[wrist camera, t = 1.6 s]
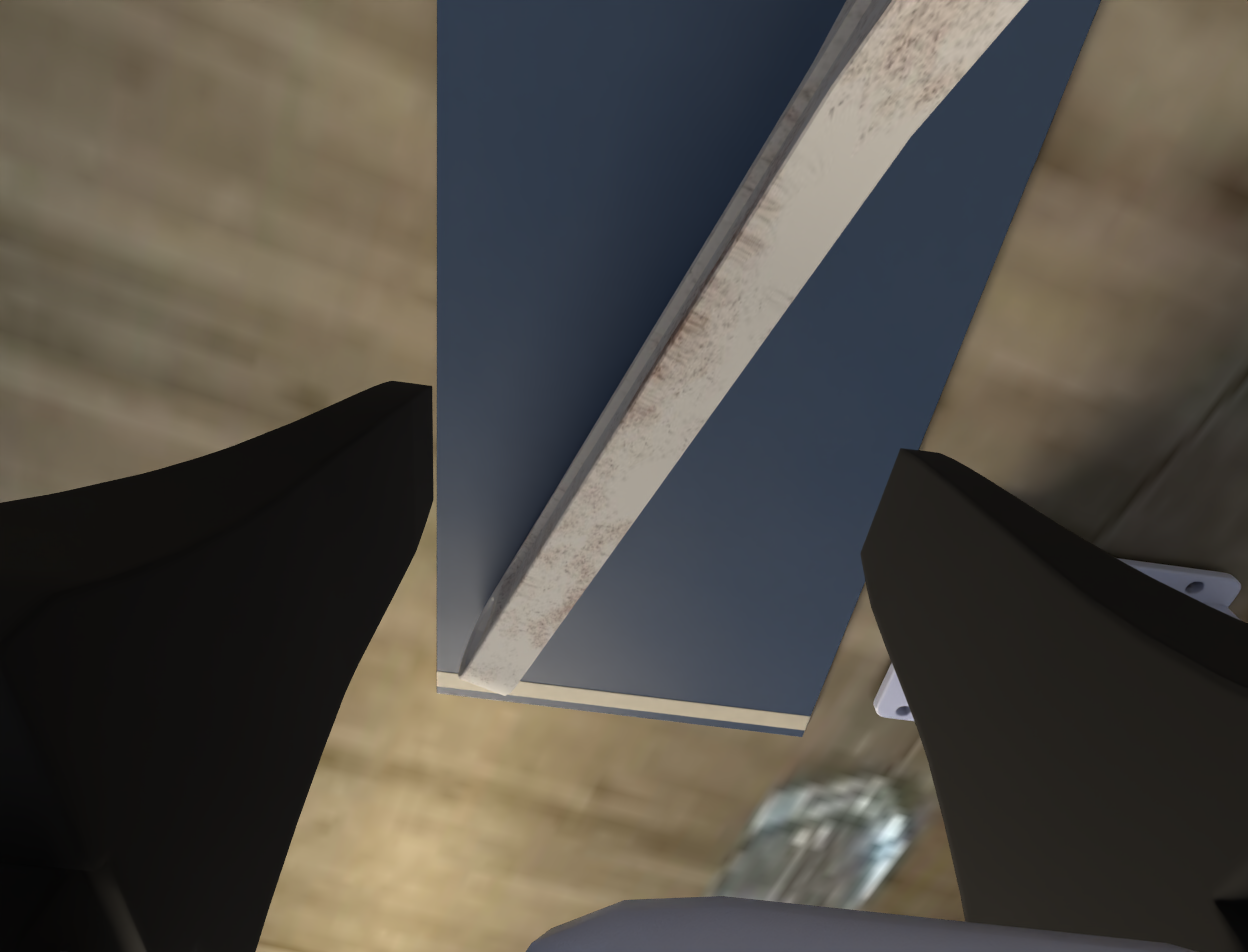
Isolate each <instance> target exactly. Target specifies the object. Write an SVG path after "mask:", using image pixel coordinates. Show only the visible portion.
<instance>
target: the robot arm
mask: <svg viewBox="0 0 1248 952" xmlns="http://www.w3.org/2000/svg"><path fill="white" fill-rule="evenodd" d="M432 502H433V424H432V386H427V385H420V384H412V383H405V382H397V381H389V382H385V383H382V384H379V385H377V386H374V387H372V388H369V389H367V390H365V391H362V392H360V393H358V394H355V395H353V396H351V397H349V398H347V399H344V400H342V401H340V402H338V403H336V404H333V405H331V406H329V407H327V408H324V409H322V410H320V411H318V412H315V413H313V414H311V415H309V416H306V417H304V418H302V419H300V420H297V421H295V422H293V423H290V424H288V425H285V426H283V427H280V428H278V429H275V430H273V431H270V432H267V433H265V434H262V435H260V436H257V437H255V438H252V439H250V440H247V441H245V442H242V443H240V444H237V445H235V446H232V447H229V448H226V449H223V450H220V451H217V452H214V453H211V454H208V455H205V456H202V457H199V458H196V459H193V460H189V461H186V462H182V463H179V464H176V465H172V466H169V467H165V468H162V469H159V470H155V471H151V472H147V473H144V474H140V475H135V476H131V477H126V478H122V479H117V480H113V481H108V482H104V483H100V484H95V485H91V486H86V487H82V488H77V489H73V490H68V491H64V492H59V493H54V494H49V495H43V496H38V497H32V498H26V499H20V500H14V501H9V502H3V503H0V952H255V951H256V948H257V945H258V942H259V938H260V935H261V932H262V929H263V926H264V922H265V919H266V916H267V913H268V909H269V906H270V903H271V900H272V897H273V894H274V891H275V888H276V885H277V882H278V879H279V876H280V873H281V870H282V867H283V864H284V861H285V858H286V855H287V852H288V849H289V846H290V843H291V840H292V837H293V834H294V831H295V828H296V825H297V822H298V820H299V817H300V814H301V811H302V808H303V806H304V803H305V800H306V797H307V794H308V792H309V789H310V786H311V783H312V780H313V778H314V775H315V772H316V769H317V766H318V764H319V761H320V758H321V755H322V752H323V750H324V747H325V745H326V742H327V739H328V737H329V734H330V731H331V729H332V726H333V724H334V721H335V718H336V716H337V713H338V710H339V708H340V705H341V702H342V700H343V697H344V695H345V692H346V690H347V688H348V686H349V683H350V681H351V679H352V677H353V675H354V672H355V670H356V668H357V666H358V664H359V662H360V660H361V658H362V656H363V654H364V652H365V650H366V648H367V646H368V644H369V643H370V641H371V639H372V637H373V635H374V633H375V631H376V629H377V627H378V625H379V623H380V621H381V619H382V617H383V615H384V614H385V612H386V610H387V608H388V606H389V604H390V602H391V600H392V598H393V596H394V594H395V592H396V590H397V588H398V586H399V584H400V582H401V580H402V578H403V576H404V575H405V573H406V571H407V569H408V567H409V565H410V563H411V561H412V559H413V556H414V554H415V552H416V550H417V547H418V544H419V542H420V539H421V536H422V533H423V530H424V527H425V524H426V521H427V518H428V515H429V512H430V509H431V506H432ZM860 555H861V560H862V565H863V571H864V576H865V582H866V586H867V591H868V595H869V599H870V604H871V608H872V611H873V613H874V616H875V619H876V622H877V624H878V627H879V630H880V633H881V635H882V638H883V641H884V643H885V646H886V649H887V651H888V654H889V656H890V659H891V662H892V663H891V665H890V667H889V669H888V671H887V673H886V676H885V678H884V680H883V682H882V684H881V686H880V688H879V691H878V693H877V695H876V697H875V699H874V703H873V704H874V707H875V710H876V712H877V714H878V715H880V716H882V717H885V718H893V719H901V720H910V721H915V724H916V726H917V729H918V732H919V735H920V738H921V741H922V744H923V747H924V750H925V753H926V756H927V759H928V762H929V766H930V770H931V774H932V778H933V782H934V786H935V789H936V793H937V797H938V801H939V805H940V809H941V813H942V816H943V820H944V824H945V829H946V833H947V838H948V842H949V846H950V851H951V855H952V860H953V864H954V868H955V873H956V877H957V882H958V886H959V891H960V895H961V901H962V906H963V911H964V916H965V921H966V922H962V921H952V920H943V919H933V918H924V917H914V916H905V915H896V914H886V913H877V912H867V911H858V910H848V909H839V908H829V907H820V906H810V905H801V904H791V903H782V902H772V901H763V900H753V899H744V898H734V897H725V896H716V897H691V898H665V899H640V900H624V901H621V902H618V903H616V904H613V905H611V906H608V907H606V908H603V909H600V910H598V911H595V912H593V913H590V914H587V915H585V916H582V917H580V918H577V919H575V920H572V921H569V922H567V923H564V924H562V925H559V926H556V927H554V928H551V929H550V930H548V931H547V932H546V933H545V934H543V935H542V936H541V937H539V938H538V939H537V940H535V941H534V942H533V943H531V945H530V946H529V948H528V949H527V951H526V952H1248V623H1245V622H1243V621H1241V620H1240V619H1239V618H1238V617H1237V616H1236V615H1235V614H1234V613H1233V612H1232V611H1231V610H1230V609H1229V608H1228V606H1229V605H1230V604H1231V603H1232V601H1233V600H1234V599H1235V597H1236V596H1237V595H1238V593H1239V591H1240V589H1241V584H1240V582H1239V581H1238V580H1237V579H1236V578H1235V577H1233V576H1232V575H1231V574H1228V573H1224V572H1217V571H1209V570H1202V569H1194V568H1187V567H1179V566H1172V565H1165V564H1157V563H1150V562H1142V561H1135V560H1127V559H1120V558H1115V557H1114V556H1112V555H1110V554H1108V553H1107V552H1105V551H1103V550H1101V549H1100V548H1098V547H1096V546H1094V545H1093V544H1091V543H1089V542H1088V541H1086V540H1084V539H1082V538H1081V537H1079V536H1077V535H1076V534H1074V533H1073V532H1071V531H1069V530H1068V529H1066V528H1064V527H1063V526H1061V525H1059V524H1058V523H1056V522H1055V521H1053V520H1051V519H1050V518H1048V517H1047V516H1045V515H1043V514H1042V513H1040V512H1039V511H1037V510H1036V509H1034V508H1032V507H1031V506H1029V505H1028V504H1026V503H1024V502H1023V501H1021V500H1020V499H1018V498H1017V497H1015V496H1014V495H1012V494H1010V493H1009V492H1007V491H1006V490H1004V489H1002V488H1001V487H999V486H998V485H996V484H995V483H993V482H991V481H990V480H988V479H987V478H985V477H983V476H982V475H980V474H978V473H977V472H975V471H973V470H972V469H970V468H968V467H967V466H965V465H963V464H961V463H959V462H957V461H955V460H954V459H952V458H949V457H947V456H945V455H943V454H940V453H935V452H927V451H920V450H912V449H905V448H900V451H899V453H898V456H897V458H896V461H895V464H894V466H893V469H892V472H891V474H890V477H889V479H888V482H887V485H886V487H885V490H884V493H883V495H882V498H881V500H880V503H879V506H878V508H877V511H876V513H875V516H874V519H873V521H872V524H871V527H870V529H869V532H868V534H867V537H866V540H865V542H864V545H863V548H862V550H861V553H860ZM1190 583H1192V584H1190ZM1189 584H1190V585H1189ZM901 706H903V707H901Z"/></svg>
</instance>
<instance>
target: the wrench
mask: <svg viewBox="0 0 1248 952" xmlns="http://www.w3.org/2000/svg"><path fill="white" fill-rule="evenodd" d="M1028 1H1029V0H846V2H845V4H844V6H843V8H842V10H841V11H840V13H839V15H838V17H837V19H836V21H835V23H834V24H833V26H832V28H831V30H830V32H829V34H828V36H827V37H826V39H825V41H824V43H823V45H822V47H821V49H820V50H819V52H818V54H817V56H816V58H815V60H814V62H813V63H812V65H811V67H810V68H809V70H808V72H807V73H806V75H805V77H804V78H803V80H802V82H801V83H800V85H799V87H798V88H797V90H796V92H795V94H794V95H793V97H792V99H791V100H790V102H789V104H788V105H787V107H786V109H785V110H784V112H783V114H782V115H781V117H780V119H779V120H778V122H777V124H776V125H775V127H774V129H773V130H772V132H771V134H770V135H769V137H768V139H767V140H766V142H765V144H764V145H763V147H762V149H761V150H760V152H759V154H758V155H757V157H756V159H755V160H754V162H753V164H752V165H751V167H750V169H749V170H748V172H747V174H746V175H745V177H744V179H743V180H742V182H741V184H740V185H739V187H738V189H737V190H736V192H735V194H734V195H733V197H732V199H731V200H730V202H729V204H728V205H727V207H726V209H725V210H724V212H723V214H722V215H721V217H720V219H719V220H718V222H717V224H716V225H715V227H714V229H713V230H712V232H711V233H710V235H709V237H708V238H707V240H706V242H705V243H704V245H703V247H702V248H701V250H700V252H699V253H698V255H697V257H696V258H695V260H694V262H693V263H692V265H691V266H690V268H689V270H688V271H687V273H686V275H685V276H684V278H683V280H682V281H681V283H680V285H679V286H678V288H677V290H676V291H675V293H674V295H673V296H672V298H671V300H670V301H669V303H668V304H667V306H666V308H665V309H664V311H663V313H662V314H661V316H660V318H659V319H658V321H657V323H656V324H655V326H654V328H653V329H652V331H651V333H650V334H649V336H648V337H647V339H646V341H645V342H644V344H643V346H642V347H641V349H640V351H639V352H638V354H637V356H636V357H635V359H634V361H633V362H632V364H631V366H630V367H629V369H628V370H627V372H626V374H625V375H624V377H623V379H622V380H621V382H620V384H619V385H618V387H617V389H616V390H615V392H614V394H613V395H612V397H611V399H610V400H609V402H608V404H607V405H606V407H605V409H604V410H603V412H602V413H601V415H600V417H599V418H598V420H597V422H596V423H595V425H594V427H593V428H592V430H591V432H590V433H589V435H588V437H587V438H586V440H585V442H584V443H583V445H582V447H581V448H580V450H579V452H578V453H577V455H576V457H575V458H574V460H573V462H572V463H571V465H570V467H569V468H568V470H567V472H566V473H565V475H564V476H563V478H562V480H561V481H560V483H559V485H558V486H557V488H556V490H555V491H554V493H553V495H552V496H551V498H550V500H549V501H548V503H547V505H546V506H545V508H544V510H543V511H542V513H541V514H540V516H539V518H538V519H537V521H536V523H535V524H534V526H533V528H532V529H531V531H530V533H529V534H528V536H527V537H526V539H525V541H524V542H523V544H522V546H521V547H520V549H519V551H518V552H517V554H516V556H515V557H514V559H513V560H512V562H511V564H510V565H509V567H508V569H507V570H506V572H505V574H504V575H503V577H502V579H501V580H500V582H499V584H498V585H497V587H496V588H495V590H494V592H493V593H492V595H491V597H490V598H489V600H488V602H487V603H486V605H485V607H484V609H483V611H482V613H481V615H480V617H479V619H478V621H477V623H476V625H475V627H474V629H473V632H472V634H471V636H470V639H469V641H468V644H467V647H466V649H465V652H464V655H463V658H462V661H461V664H460V668H459V674H458V677H459V679H461V680H464V681H466V682H469V683H471V684H474V685H477V686H479V687H482V688H485V689H487V690H490V691H493V692H495V693H498V694H501V695H503V696H506V695H508V694H510V693H511V692H512V691H513V690H514V688H515V687H516V686H517V684H518V683H519V681H520V680H521V679H522V677H523V676H524V674H525V673H526V672H527V670H528V669H529V668H530V666H531V665H532V663H533V662H534V661H535V659H536V658H537V656H538V655H539V654H540V652H541V651H542V649H543V648H544V647H545V645H546V644H547V642H548V641H549V640H550V638H551V637H552V635H553V634H554V633H555V631H556V630H557V629H558V627H559V626H560V624H561V623H562V622H563V620H564V619H565V617H566V616H567V615H568V613H569V612H570V610H571V609H572V608H573V606H574V605H575V603H576V602H577V601H578V599H579V598H580V597H581V595H582V594H583V592H584V591H585V590H586V588H587V587H588V585H589V584H590V583H591V581H592V580H593V578H594V577H595V576H596V574H597V573H598V571H599V570H600V569H601V567H602V566H603V565H604V563H605V562H606V560H607V559H608V558H609V556H610V555H611V553H612V552H613V551H614V549H615V548H616V546H617V545H618V544H619V542H620V541H621V539H622V538H623V537H624V535H625V534H626V533H627V531H628V530H629V528H630V527H631V526H632V524H633V523H634V521H635V520H636V519H637V517H638V516H639V514H640V513H641V512H642V510H643V509H644V507H645V506H646V505H647V503H648V502H649V501H650V499H651V498H652V496H653V495H654V494H655V492H656V491H657V489H658V488H659V487H660V485H661V484H662V482H663V481H664V480H665V478H666V477H667V475H668V474H669V473H670V471H671V470H672V469H673V467H674V466H675V464H676V463H677V462H678V460H679V459H680V457H681V456H682V455H683V453H684V452H685V450H686V449H687V448H688V446H689V445H690V443H691V442H692V441H693V439H694V438H695V437H696V435H697V434H698V432H699V431H700V430H701V428H702V427H703V425H704V424H705V423H706V421H707V420H708V418H709V417H710V416H711V414H712V413H713V411H714V410H715V409H716V407H717V406H718V405H719V403H720V402H721V400H722V399H723V398H724V396H725V395H726V393H727V392H728V391H729V389H730V388H731V386H732V385H733V384H734V382H735V381H736V379H737V378H738V377H739V375H740V374H741V373H742V371H743V370H744V368H745V367H746V366H747V364H748V363H749V361H750V360H751V359H752V357H753V356H754V354H755V353H756V352H757V350H758V349H759V347H760V346H761V345H762V343H763V342H764V341H765V339H766V338H767V336H768V335H769V334H770V332H771V331H772V329H773V328H774V327H775V325H776V324H777V322H778V321H779V320H780V318H781V317H782V315H783V314H784V313H785V311H786V310H787V309H788V307H789V306H790V304H791V303H792V302H793V300H794V299H795V297H796V296H797V295H798V293H799V292H800V290H801V289H802V288H803V286H804V285H805V283H806V282H807V281H808V279H809V278H810V276H811V275H812V274H813V272H814V271H815V270H816V268H817V267H818V265H819V264H820V263H821V261H822V260H823V258H824V257H825V256H826V254H827V253H828V251H829V250H830V249H831V247H832V246H833V244H834V243H835V242H836V240H837V239H838V238H839V236H840V235H841V233H842V232H843V231H844V229H845V228H846V226H847V225H848V224H849V222H850V221H851V219H852V218H853V217H854V215H855V214H856V212H857V211H858V210H859V208H860V207H861V206H862V204H863V203H864V201H865V200H866V199H867V197H868V196H869V194H870V193H871V192H872V190H873V189H874V187H875V186H876V185H877V183H878V182H879V180H880V179H881V178H882V176H883V175H884V174H885V172H886V171H887V169H888V168H889V167H890V165H891V164H892V162H893V161H894V160H895V158H896V157H897V155H898V154H899V153H900V151H901V150H902V148H903V147H904V146H905V144H906V143H907V142H908V140H909V139H910V137H911V136H912V135H913V134H914V133H915V132H916V130H917V129H918V128H919V127H920V126H921V125H922V123H923V122H924V121H925V120H926V119H927V118H928V117H929V115H930V114H931V113H932V112H933V111H934V110H935V108H936V107H937V106H938V105H939V104H940V103H941V101H942V100H943V99H944V98H945V97H946V96H947V95H948V93H949V92H950V91H951V90H952V89H953V88H954V86H955V85H956V84H957V83H958V82H959V81H960V79H961V78H962V77H963V76H964V75H965V74H966V73H967V71H968V70H969V69H970V68H971V67H972V66H973V64H974V63H975V62H976V61H977V60H978V59H979V57H980V56H981V55H982V54H983V53H984V52H985V51H986V49H987V48H988V47H989V46H990V45H991V44H992V42H993V41H994V40H995V39H996V38H997V37H998V35H999V34H1000V33H1001V32H1002V31H1003V30H1004V29H1005V27H1006V26H1007V25H1008V24H1009V23H1010V22H1011V20H1012V19H1013V18H1014V17H1015V16H1016V15H1017V13H1018V12H1019V11H1020V10H1021V9H1022V8H1023V7H1024V5H1025V4H1026V3H1027V2H1028Z"/></svg>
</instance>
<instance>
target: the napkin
mask: <svg viewBox="0 0 1248 952" xmlns="http://www.w3.org/2000/svg"><path fill="white" fill-rule="evenodd" d="M1100 1H1101V0H1029V1H1028V2H1027V3H1026V4H1025V5H1024V7H1023V8H1022V9H1021V10H1020V11H1019V12H1018V13H1017V15H1016V16H1015V17H1014V18H1013V19H1012V20H1011V22H1010V23H1009V24H1008V25H1007V26H1006V27H1005V29H1004V30H1003V31H1002V32H1001V33H1000V34H999V35H998V37H997V38H996V39H995V40H994V41H993V42H992V44H991V45H990V46H989V47H988V48H987V49H986V51H985V52H984V53H983V54H982V55H981V56H980V57H979V59H978V60H977V61H976V62H975V63H974V64H973V66H972V67H971V68H970V69H969V70H968V71H967V73H966V74H965V75H964V76H963V77H962V78H961V79H960V81H959V82H958V83H957V84H956V85H955V86H954V88H953V89H952V90H951V91H950V92H949V93H948V95H947V96H946V97H945V98H944V99H943V100H942V101H941V103H940V104H939V105H938V106H937V107H936V108H935V110H934V111H933V112H932V113H931V114H930V115H929V117H928V118H927V119H926V120H925V121H924V122H923V123H922V125H921V126H920V127H919V128H918V129H917V130H916V132H915V133H914V134H913V135H912V136H911V137H910V139H909V140H908V142H907V143H906V144H905V146H904V147H903V148H902V150H901V151H900V153H899V154H898V155H897V157H896V158H895V160H894V161H893V162H892V164H891V165H890V167H889V168H888V169H887V171H886V172H885V174H884V175H883V176H882V178H881V179H880V180H879V182H878V183H877V185H876V186H875V187H874V189H873V190H872V192H871V193H870V194H869V196H868V197H867V199H866V200H865V201H864V203H863V204H862V206H861V207H860V208H859V210H858V211H857V212H856V214H855V215H854V217H853V218H852V219H851V221H850V222H849V224H848V225H847V226H846V228H845V229H844V231H843V232H842V233H841V235H840V236H839V238H838V239H837V240H836V242H835V243H834V244H833V246H832V247H831V249H830V250H829V251H828V253H827V254H826V256H825V257H824V258H823V260H822V261H821V263H820V264H819V265H818V267H817V268H816V270H815V271H814V272H813V274H812V275H811V276H810V278H809V279H808V281H807V282H806V283H805V285H804V286H803V288H802V289H801V290H800V292H799V293H798V295H797V296H796V297H795V299H794V300H793V302H792V303H791V304H790V306H789V307H788V309H787V310H786V311H785V313H784V314H783V315H782V317H781V318H780V320H779V321H778V322H777V324H776V325H775V327H774V328H773V329H772V331H771V332H770V334H769V335H768V336H767V338H766V339H765V341H764V342H763V343H762V345H761V346H760V347H759V349H758V350H757V352H756V353H755V354H754V356H753V357H752V359H751V360H750V361H749V363H748V364H747V366H746V367H745V368H744V370H743V371H742V373H741V374H740V375H739V377H738V378H737V379H736V381H735V382H734V384H733V385H732V386H731V388H730V389H729V391H728V392H727V393H726V395H725V396H724V398H723V399H722V400H721V402H720V403H719V405H718V406H717V407H716V409H715V410H714V411H713V413H712V414H711V416H710V417H709V418H708V420H707V421H706V423H705V424H704V425H703V427H702V428H701V430H700V431H699V432H698V434H697V435H696V437H695V438H694V439H693V441H692V442H691V443H690V445H689V446H688V448H687V449H686V450H685V452H684V453H683V455H682V456H681V457H680V459H679V460H678V462H677V463H676V464H675V466H674V467H673V469H672V470H671V471H670V473H669V474H668V475H667V477H666V478H665V480H664V481H663V482H662V484H661V485H660V487H659V488H658V489H657V491H656V492H655V494H654V495H653V496H652V498H651V499H650V501H649V502H648V503H647V505H646V506H645V507H644V509H643V510H642V512H641V513H640V514H639V516H638V517H637V519H636V520H635V521H634V523H633V524H632V526H631V527H630V528H629V530H628V531H627V533H626V534H625V535H624V537H623V538H622V539H621V541H620V542H619V544H618V545H617V546H616V548H615V549H614V551H613V552H612V553H611V555H610V556H609V558H608V559H607V560H606V562H605V563H604V565H603V566H602V567H601V569H600V570H599V571H598V573H597V574H596V576H595V577H594V578H593V580H592V581H591V583H590V584H589V585H588V587H587V588H586V590H585V591H584V592H583V594H582V595H581V597H580V598H579V599H578V601H577V602H576V603H575V605H574V606H573V608H572V609H571V610H570V612H569V613H568V615H567V616H566V617H565V619H564V620H563V622H562V623H561V624H560V626H559V627H558V629H557V630H556V631H555V633H554V634H553V635H552V637H551V638H550V640H549V641H548V642H547V644H546V645H545V647H544V648H543V649H542V651H541V652H540V654H539V655H538V656H537V658H536V659H535V661H534V662H533V663H532V665H531V666H530V668H529V669H528V670H527V672H526V673H525V674H524V676H523V677H522V679H521V680H520V681H519V683H518V684H517V686H516V687H515V688H514V690H513V691H512V692H511V693H510V694H508V695H506V696H503V695H501V694H498V693H495V692H493V691H490V690H487V689H485V688H482V687H479V686H477V685H474V684H471V683H469V682H466V681H464V680H461V679H459V677H458V674H459V668H460V664H461V661H462V658H463V655H464V652H465V649H466V647H467V644H468V641H469V639H470V636H471V634H472V632H473V629H474V627H475V625H476V623H477V621H478V619H479V617H480V615H481V613H482V611H483V609H484V607H485V605H486V603H487V602H488V600H489V598H490V597H491V595H492V593H493V592H494V590H495V588H496V587H497V585H498V584H499V582H500V580H501V579H502V577H503V575H504V574H505V572H506V570H507V569H508V567H509V565H510V564H511V562H512V560H513V559H514V557H515V556H516V554H517V552H518V551H519V549H520V547H521V546H522V544H523V542H524V541H525V539H526V537H527V536H528V534H529V533H530V531H531V529H532V528H533V526H534V524H535V523H536V521H537V519H538V518H539V516H540V514H541V513H542V511H543V510H544V508H545V506H546V505H547V503H548V501H549V500H550V498H551V496H552V495H553V493H554V491H555V490H556V488H557V486H558V485H559V483H560V481H561V480H562V478H563V476H564V475H565V473H566V472H567V470H568V468H569V467H570V465H571V463H572V462H573V460H574V458H575V457H576V455H577V453H578V452H579V450H580V448H581V447H582V445H583V443H584V442H585V440H586V438H587V437H588V435H589V433H590V432H591V430H592V428H593V427H594V425H595V423H596V422H597V420H598V418H599V417H600V415H601V413H602V412H603V410H604V409H605V407H606V405H607V404H608V402H609V400H610V399H611V397H612V395H613V394H614V392H615V390H616V389H617V387H618V385H619V384H620V382H621V380H622V379H623V377H624V375H625V374H626V372H627V370H628V369H629V367H630V366H631V364H632V362H633V361H634V359H635V357H636V356H637V354H638V352H639V351H640V349H641V347H642V346H643V344H644V342H645V341H646V339H647V337H648V336H649V334H650V333H651V331H652V329H653V328H654V326H655V324H656V323H657V321H658V319H659V318H660V316H661V314H662V313H663V311H664V309H665V308H666V306H667V304H668V303H669V301H670V300H671V298H672V296H673V295H674V293H675V291H676V290H677V288H678V286H679V285H680V283H681V281H682V280H683V278H684V276H685V275H686V273H687V271H688V270H689V268H690V266H691V265H692V263H693V262H694V260H695V258H696V257H697V255H698V253H699V252H700V250H701V248H702V247H703V245H704V243H705V242H706V240H707V238H708V237H709V235H710V233H711V232H712V230H713V229H714V227H715V225H716V224H717V222H718V220H719V219H720V217H721V215H722V214H723V212H724V210H725V209H726V207H727V205H728V204H729V202H730V200H731V199H732V197H733V195H734V194H735V192H736V190H737V189H738V187H739V185H740V184H741V182H742V180H743V179H744V177H745V175H746V174H747V172H748V170H749V169H750V167H751V165H752V164H753V162H754V160H755V159H756V157H757V155H758V154H759V152H760V150H761V149H762V147H763V145H764V144H765V142H766V140H767V139H768V137H769V135H770V134H771V132H772V130H773V129H774V127H775V125H776V124H777V122H778V120H779V119H780V117H781V115H782V114H783V112H784V110H785V109H786V107H787V105H788V104H789V102H790V100H791V99H792V97H793V95H794V94H795V92H796V90H797V88H798V87H799V85H800V83H801V82H802V80H803V78H804V77H805V75H806V73H807V72H808V70H809V68H810V67H811V65H812V63H813V62H814V60H815V58H816V56H817V54H818V52H819V50H820V49H821V47H822V45H823V43H824V41H825V39H826V37H827V36H828V34H829V32H830V30H831V28H832V26H833V24H834V23H835V21H836V19H837V17H838V15H839V13H840V11H841V10H842V8H843V6H844V4H845V2H846V0H437V693H440V694H448V695H457V696H465V697H473V698H482V699H490V700H498V701H507V702H515V703H523V704H532V705H540V706H548V707H557V708H565V709H573V710H582V711H590V712H598V713H607V714H615V715H623V716H632V717H640V718H648V719H657V720H665V721H673V722H682V723H690V724H698V725H707V726H715V727H723V728H732V729H740V730H748V731H757V732H765V733H773V734H782V735H790V736H798V737H802V736H803V733H804V731H805V729H806V726H807V724H808V722H809V719H810V716H811V714H812V711H813V709H814V706H815V704H816V701H817V699H818V696H819V694H820V691H821V689H822V686H823V684H824V682H825V679H826V677H827V674H828V672H829V669H830V667H831V664H832V662H833V659H834V657H835V654H836V652H837V649H838V647H839V645H840V642H841V640H842V637H843V635H844V632H845V630H846V627H847V625H848V622H849V620H850V617H851V615H852V613H853V610H854V608H855V605H856V603H857V600H858V598H859V595H860V593H861V590H862V588H863V585H864V583H865V576H864V571H863V565H862V560H861V555H860V553H861V550H862V548H863V545H864V542H865V540H866V537H867V534H868V532H869V529H870V527H871V524H872V521H873V519H874V516H875V513H876V511H877V508H878V506H879V503H880V500H881V498H882V495H883V493H884V490H885V487H886V485H887V482H888V479H889V477H890V474H891V472H892V469H893V466H894V464H895V461H896V458H897V456H898V453H899V451H900V448H905V449H912V450H919V447H920V445H921V442H922V440H923V438H924V435H925V433H926V430H927V428H928V425H929V423H930V420H931V418H932V415H933V413H934V410H935V408H936V406H937V403H938V401H939V398H940V396H941V393H942V391H943V388H944V386H945V383H946V381H947V378H948V376H949V374H950V371H951V369H952V366H953V364H954V361H955V359H956V356H957V354H958V351H959V349H960V346H961V344H962V341H963V339H964V337H965V334H966V332H967V329H968V327H969V324H970V322H971V319H972V317H973V314H974V312H975V309H976V307H977V305H978V302H979V300H980V297H981V295H982V292H983V290H984V287H985V285H986V282H987V280H988V277H989V275H990V272H991V270H992V268H993V265H994V263H995V260H996V258H997V255H998V253H999V250H1000V248H1001V245H1002V243H1003V240H1004V238H1005V236H1006V233H1007V231H1008V228H1009V226H1010V223H1011V221H1012V218H1013V216H1014V213H1015V211H1016V208H1017V206H1018V203H1019V201H1020V199H1021V196H1022V194H1023V191H1024V189H1025V186H1026V184H1027V181H1028V179H1029V176H1030V174H1031V171H1032V169H1033V167H1034V164H1035V162H1036V159H1037V157H1038V154H1039V152H1040V149H1041V147H1042V144H1043V142H1044V139H1045V137H1046V134H1047V132H1048V130H1049V127H1050V125H1051V122H1052V120H1053V117H1054V115H1055V112H1056V110H1057V107H1058V105H1059V102H1060V100H1061V98H1062V95H1063V93H1064V90H1065V88H1066V85H1067V83H1068V80H1069V78H1070V75H1071V73H1072V70H1073V68H1074V66H1075V63H1076V61H1077V58H1078V56H1079V53H1080V51H1081V48H1082V46H1083V43H1084V41H1085V38H1086V36H1087V33H1088V31H1089V29H1090V26H1091V24H1092V21H1093V19H1094V16H1095V14H1096V11H1097V9H1098V6H1099V4H1100Z"/></svg>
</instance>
